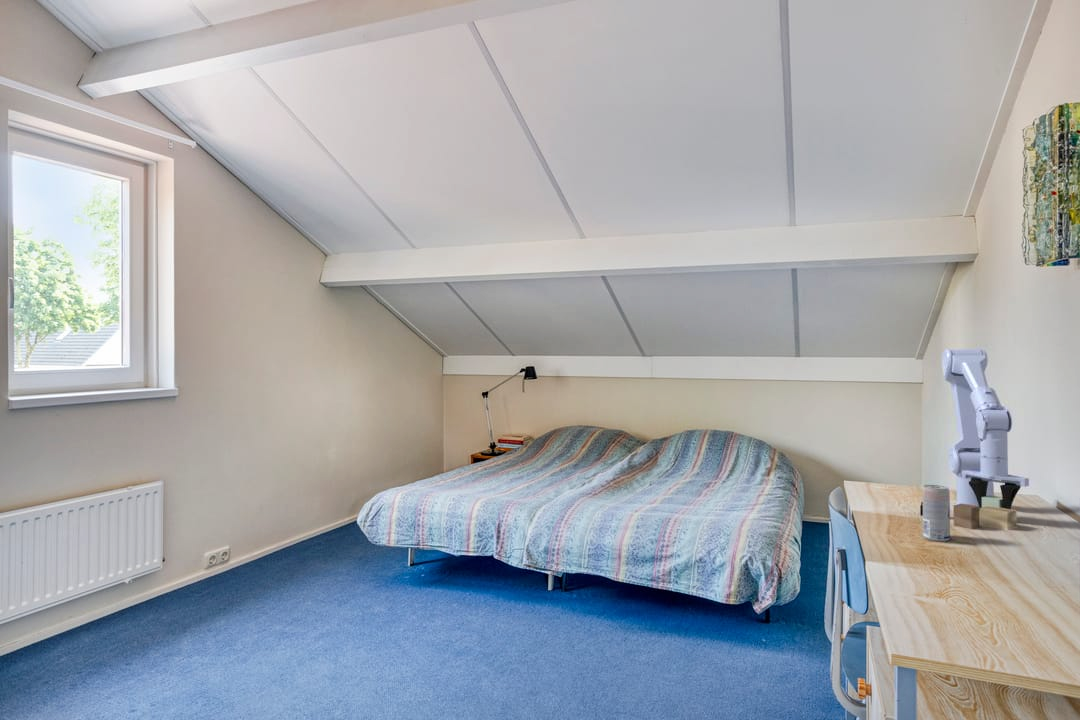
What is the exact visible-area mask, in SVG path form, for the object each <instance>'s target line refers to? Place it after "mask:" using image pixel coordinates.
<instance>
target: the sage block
mask: <svg viewBox="0 0 1080 720" xmlns="http://www.w3.org/2000/svg"><path fill="white" fill-rule="evenodd" d="M986 506H993V507H999V508H1003V499H1002V496H997V495H996V496H995V495H994V496H991V495H989V496H985V497H982V508H983V507H986Z"/></svg>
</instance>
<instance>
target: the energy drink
mask: <svg viewBox="0 0 1080 720" xmlns="http://www.w3.org/2000/svg"><path fill="white" fill-rule="evenodd" d="M950 495H951V494H950V490H949V487H948V486H945V485H939V484H924V485H923V488H922V502H923V516H922V537H923V538H924V539H925V540H927V541H932V542H938V543H939V542H940V543H947V542H949V541H950V540H951V521H950V520H951V514H950V513H951V512H950V511H951V509H950V507H951V506H950V505H951V503H950V502H951V501H950V500H951V499H950V498H951V497H950ZM946 541H947V542H946Z"/></svg>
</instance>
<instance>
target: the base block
mask: <svg viewBox="0 0 1080 720" xmlns="http://www.w3.org/2000/svg"><path fill="white" fill-rule="evenodd" d="M1017 522H1018V521H1017V510H1016V509H1012V508H1011V509H1005V508H999V507H993V506H986V507H983V508H980V526H983V525H986V526H985V527H988V526H991V527H990V528H993V527H996V528H995V529H998V528H1001V529H1000V530H1004V529H1007V530H1006V531H1009V530H1008V529H1010V530H1012V529H1011V528H1014V529H1016V528H1015V527H1017V528H1018V525H1017Z"/></svg>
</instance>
